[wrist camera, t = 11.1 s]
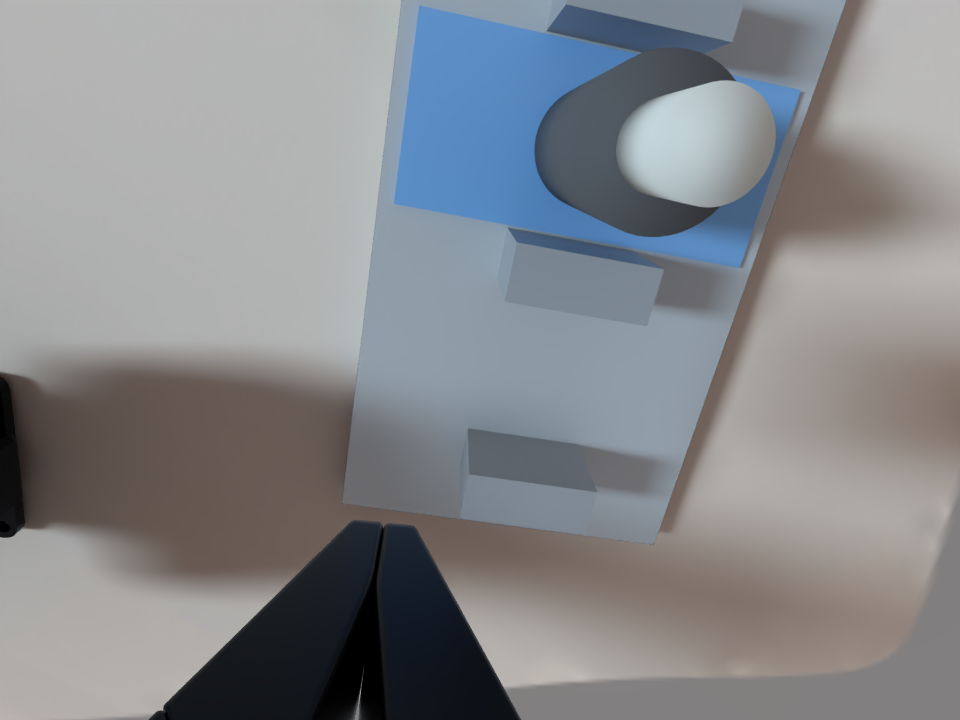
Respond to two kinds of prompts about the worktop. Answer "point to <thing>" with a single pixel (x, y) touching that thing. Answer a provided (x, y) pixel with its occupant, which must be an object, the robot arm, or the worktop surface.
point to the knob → (656, 142)
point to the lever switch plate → (549, 269)
